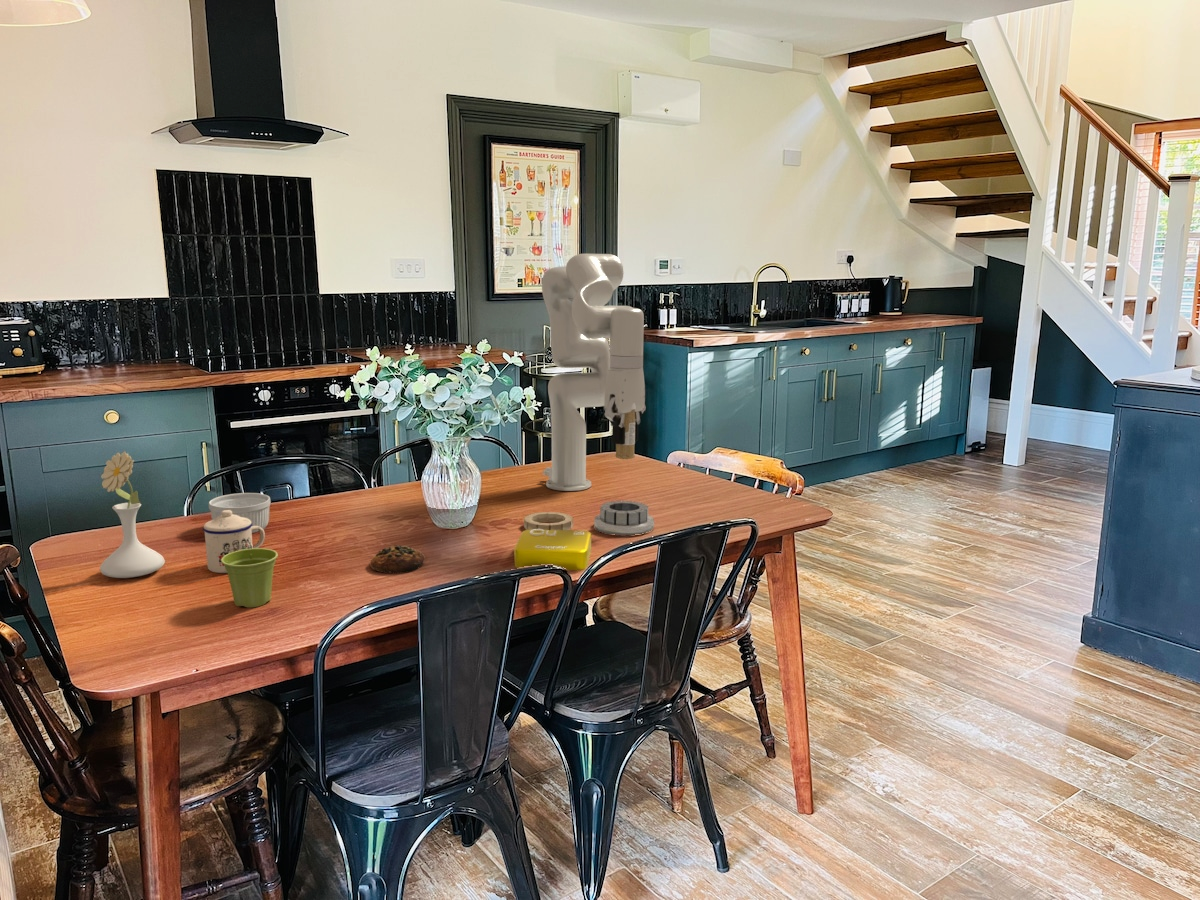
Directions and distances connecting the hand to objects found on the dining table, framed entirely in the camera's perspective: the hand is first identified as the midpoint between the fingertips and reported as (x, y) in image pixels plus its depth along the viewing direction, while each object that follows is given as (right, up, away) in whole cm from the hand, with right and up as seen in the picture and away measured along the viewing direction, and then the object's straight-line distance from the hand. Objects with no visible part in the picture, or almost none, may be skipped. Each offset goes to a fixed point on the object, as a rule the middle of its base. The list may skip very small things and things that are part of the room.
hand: (625, 441), depth 204 cm
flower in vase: (-97, -27, -30) cm, 105 cm away
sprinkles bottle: (0, -4, +1) cm, 4 cm away
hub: (0, -20, +4) cm, 21 cm away
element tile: (-16, -25, -18) cm, 34 cm away
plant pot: (-69, -30, -44) cm, 87 cm away
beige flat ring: (-18, -20, +4) cm, 27 cm away
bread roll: (-47, -26, -23) cm, 59 cm away
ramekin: (-89, -20, +1) cm, 91 cm away
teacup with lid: (-79, -25, -24) cm, 87 cm away
